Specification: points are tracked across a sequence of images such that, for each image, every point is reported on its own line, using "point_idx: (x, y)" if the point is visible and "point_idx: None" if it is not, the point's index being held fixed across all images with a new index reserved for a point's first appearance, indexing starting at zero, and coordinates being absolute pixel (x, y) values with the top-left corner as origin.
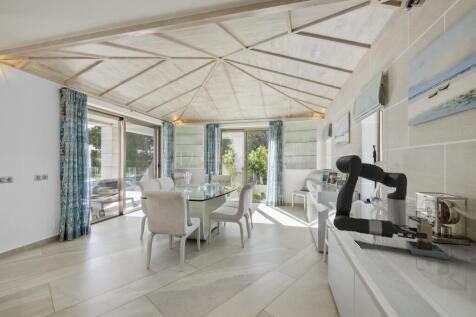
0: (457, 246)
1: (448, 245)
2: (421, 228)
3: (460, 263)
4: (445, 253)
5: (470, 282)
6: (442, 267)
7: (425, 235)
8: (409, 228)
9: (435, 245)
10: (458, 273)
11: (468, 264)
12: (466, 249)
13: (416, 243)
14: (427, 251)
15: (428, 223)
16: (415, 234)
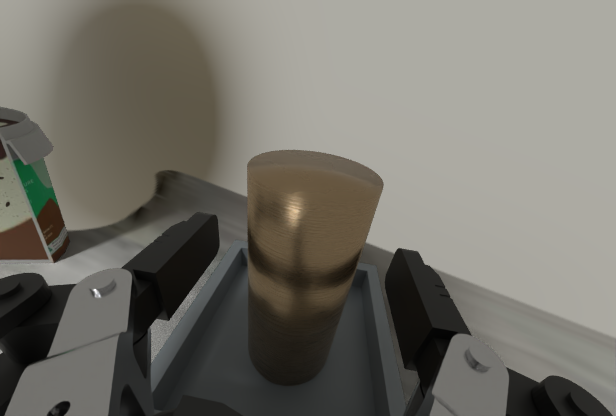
0: (185, 194)
1: (171, 206)
2: (366, 225)
3: (379, 265)
4: (377, 273)
5: (600, 333)
6: (517, 366)
7: (429, 273)
8: (138, 304)
9: (240, 252)
10: (529, 328)
11: (372, 249)
12: (215, 191)
13: (190, 339)
14: (391, 350)
15: (45, 135)
16: (508, 373)
